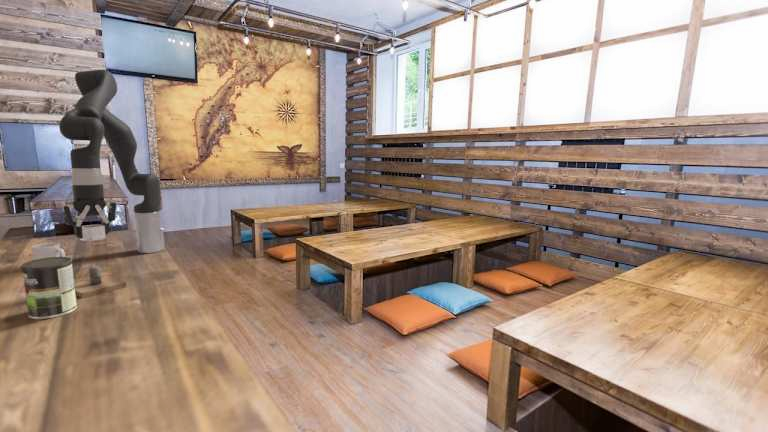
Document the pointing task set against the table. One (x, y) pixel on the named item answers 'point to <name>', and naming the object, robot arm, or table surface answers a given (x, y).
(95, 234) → the ring
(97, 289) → the post block
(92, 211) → the robot arm
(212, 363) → the table surface
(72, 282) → the coffee can
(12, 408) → the table surface
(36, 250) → the cup
